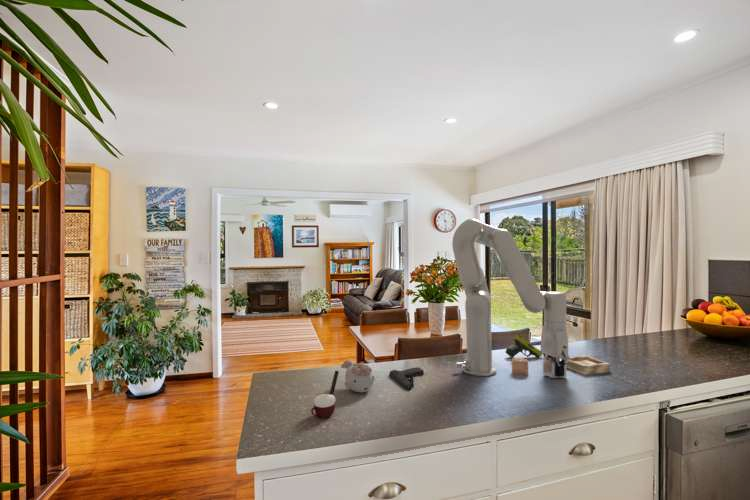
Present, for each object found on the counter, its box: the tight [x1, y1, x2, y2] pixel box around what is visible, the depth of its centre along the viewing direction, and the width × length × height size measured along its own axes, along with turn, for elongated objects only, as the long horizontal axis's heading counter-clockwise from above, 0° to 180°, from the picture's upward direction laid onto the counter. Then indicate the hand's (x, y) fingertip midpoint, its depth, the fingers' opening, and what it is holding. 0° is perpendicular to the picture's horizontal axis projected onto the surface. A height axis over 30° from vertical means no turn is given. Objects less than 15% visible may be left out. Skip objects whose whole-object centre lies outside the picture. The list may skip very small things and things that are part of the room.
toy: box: [340, 359, 375, 393], centre depth 137 cm, size 10×15×10 cm, turn 27°
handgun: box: [388, 367, 425, 391], centre depth 144 cm, size 2×18×13 cm
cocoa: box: [310, 370, 340, 419], centre depth 115 cm, size 10×6×12 cm, turn 110°
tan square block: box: [511, 357, 529, 376], centre depth 150 cm, size 6×6×5 cm
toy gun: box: [505, 334, 543, 359], centre depth 171 cm, size 2×14×10 cm
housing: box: [542, 357, 567, 379], centre depth 145 cm, size 6×5×7 cm
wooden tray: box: [566, 355, 611, 376], centre depth 154 cm, size 12×12×3 cm
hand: (554, 373), depth 145 cm, fingers closed on housing, 5 cm apart
